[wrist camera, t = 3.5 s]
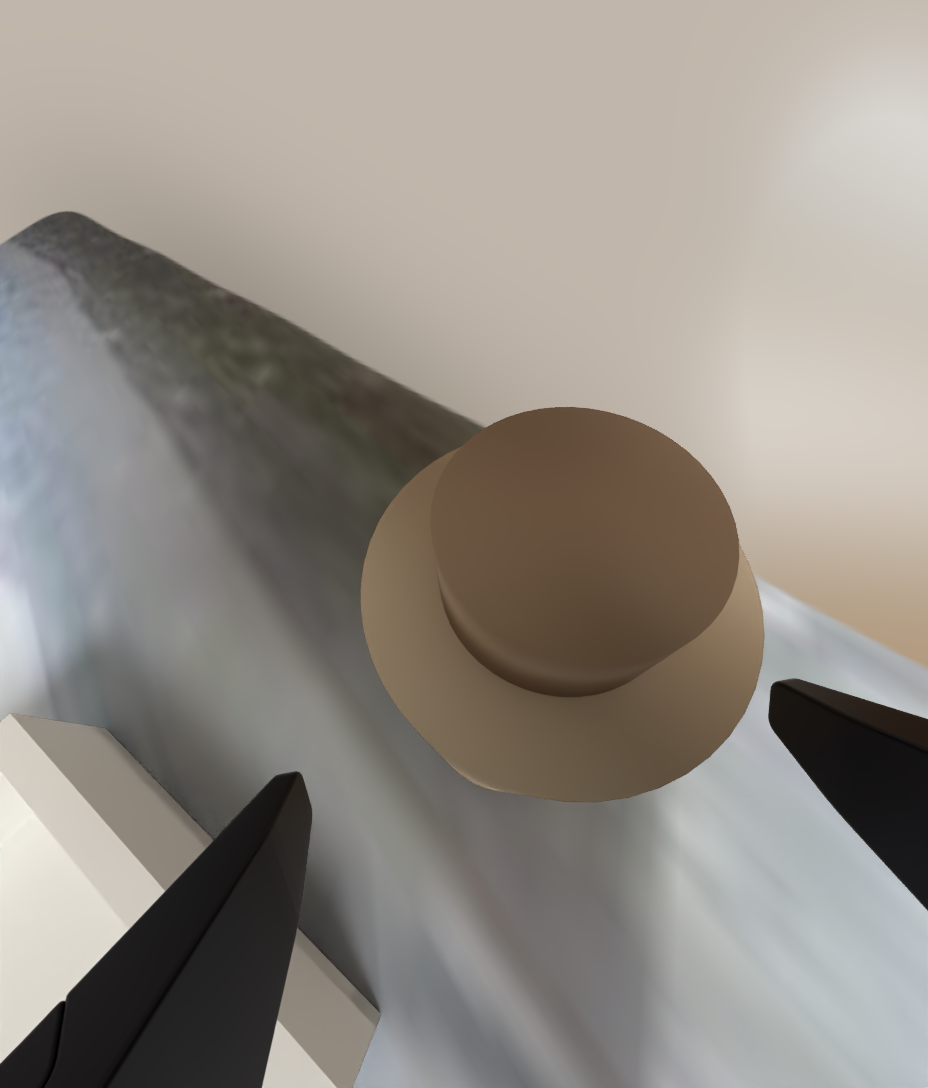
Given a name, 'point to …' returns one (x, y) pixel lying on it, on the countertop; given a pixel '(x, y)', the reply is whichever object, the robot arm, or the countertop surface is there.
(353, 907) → the countertop surface
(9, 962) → the bin
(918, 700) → the countertop surface
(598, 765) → the pepper mill
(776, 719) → the robot arm
